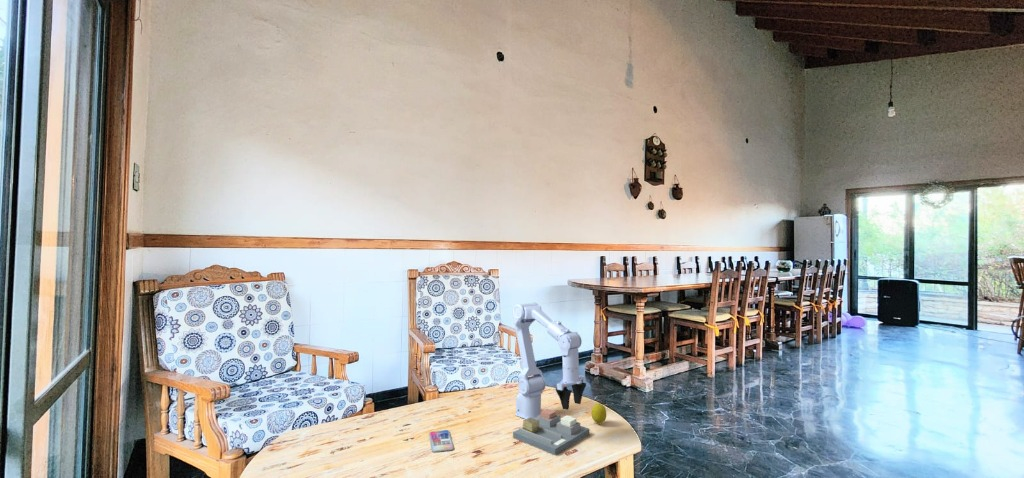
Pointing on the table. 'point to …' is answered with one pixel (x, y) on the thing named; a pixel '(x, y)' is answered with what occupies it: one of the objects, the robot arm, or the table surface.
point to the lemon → (599, 413)
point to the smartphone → (440, 441)
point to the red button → (548, 414)
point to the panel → (552, 435)
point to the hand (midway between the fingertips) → (571, 406)
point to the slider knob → (531, 425)
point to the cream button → (568, 421)
